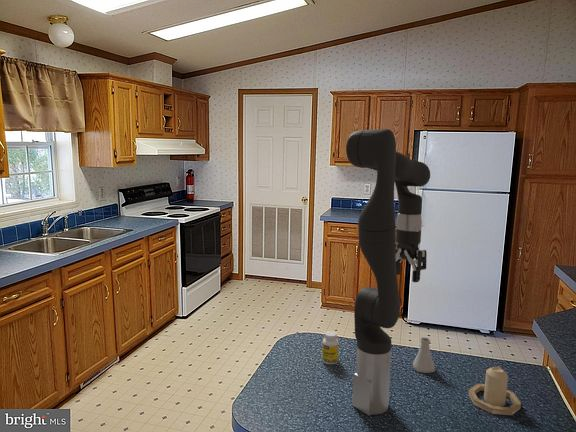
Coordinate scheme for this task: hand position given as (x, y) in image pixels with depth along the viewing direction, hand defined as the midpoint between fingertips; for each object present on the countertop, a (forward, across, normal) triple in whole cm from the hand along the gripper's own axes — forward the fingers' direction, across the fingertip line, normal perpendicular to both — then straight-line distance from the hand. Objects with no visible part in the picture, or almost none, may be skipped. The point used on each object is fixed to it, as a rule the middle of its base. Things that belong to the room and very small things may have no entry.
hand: (406, 278), depth 134 cm
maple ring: (+30, +26, +11) cm, 41 cm away
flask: (+30, +4, +6) cm, 31 cm away
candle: (+30, +26, +11) cm, 42 cm away
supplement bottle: (+30, -13, -19) cm, 38 cm away
